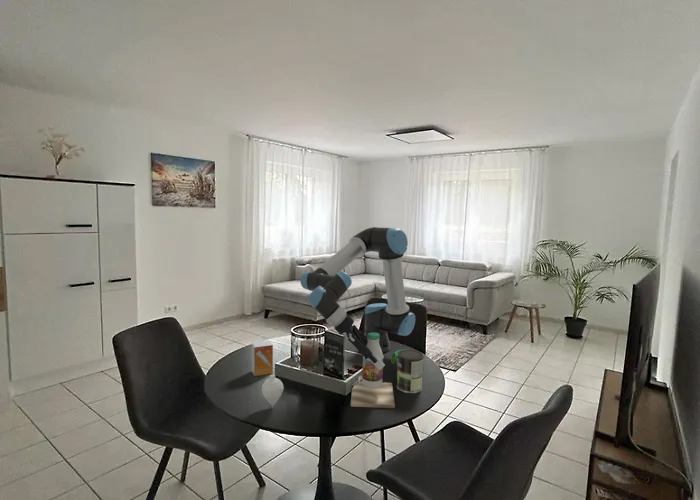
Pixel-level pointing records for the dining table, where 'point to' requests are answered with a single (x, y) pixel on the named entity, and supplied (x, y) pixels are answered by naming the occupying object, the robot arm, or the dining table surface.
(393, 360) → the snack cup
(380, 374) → the milk bottle
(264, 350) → the small box
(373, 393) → the ash board
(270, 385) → the spinning top
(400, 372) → the coffee can
